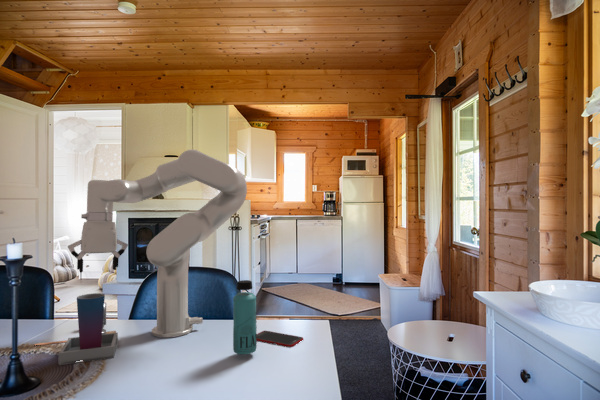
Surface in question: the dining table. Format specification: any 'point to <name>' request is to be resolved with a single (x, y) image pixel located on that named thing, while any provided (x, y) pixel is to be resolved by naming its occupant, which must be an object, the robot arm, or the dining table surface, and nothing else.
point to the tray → (88, 350)
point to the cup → (90, 319)
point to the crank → (104, 319)
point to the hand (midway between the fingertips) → (98, 270)
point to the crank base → (65, 340)
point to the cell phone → (278, 338)
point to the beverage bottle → (244, 319)
